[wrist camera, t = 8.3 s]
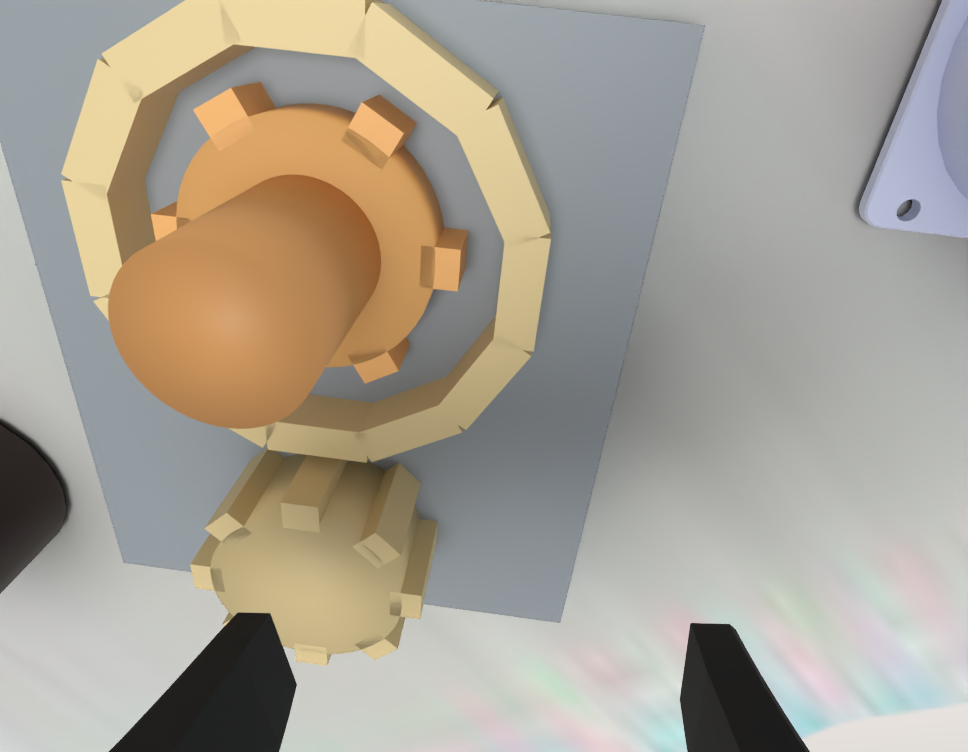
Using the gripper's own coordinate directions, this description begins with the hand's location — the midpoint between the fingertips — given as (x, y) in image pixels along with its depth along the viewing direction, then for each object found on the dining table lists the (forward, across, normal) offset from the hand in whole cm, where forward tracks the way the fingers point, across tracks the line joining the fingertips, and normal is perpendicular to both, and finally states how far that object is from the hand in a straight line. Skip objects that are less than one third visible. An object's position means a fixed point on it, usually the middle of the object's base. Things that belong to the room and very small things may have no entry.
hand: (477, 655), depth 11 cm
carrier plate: (+9, +5, -1) cm, 11 cm away
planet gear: (+8, +4, -5) cm, 10 cm away
